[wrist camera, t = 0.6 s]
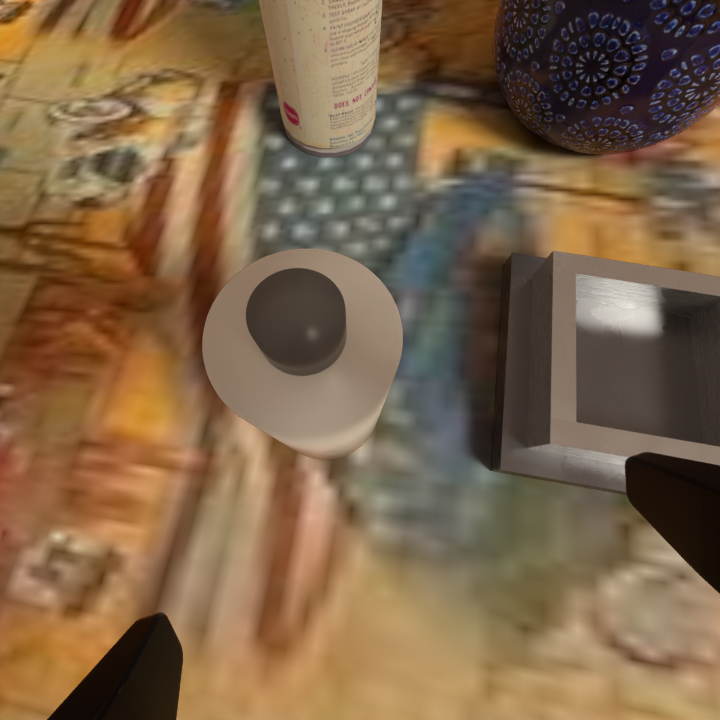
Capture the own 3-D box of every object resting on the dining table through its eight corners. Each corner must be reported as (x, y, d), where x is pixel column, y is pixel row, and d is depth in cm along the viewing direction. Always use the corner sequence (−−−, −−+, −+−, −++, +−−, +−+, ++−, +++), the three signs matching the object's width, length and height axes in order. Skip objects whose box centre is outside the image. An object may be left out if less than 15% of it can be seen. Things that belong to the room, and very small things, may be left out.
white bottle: (349, 479, 21) (344, 472, 9) (254, 428, 22) (130, 359, 10) (396, 383, 22) (445, 268, 11) (306, 340, 23) (257, 185, 11)
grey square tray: (732, 513, 21) (818, 520, 17) (490, 470, 21) (520, 467, 17) (706, 298, 25) (770, 264, 21) (503, 266, 25) (530, 227, 21)
